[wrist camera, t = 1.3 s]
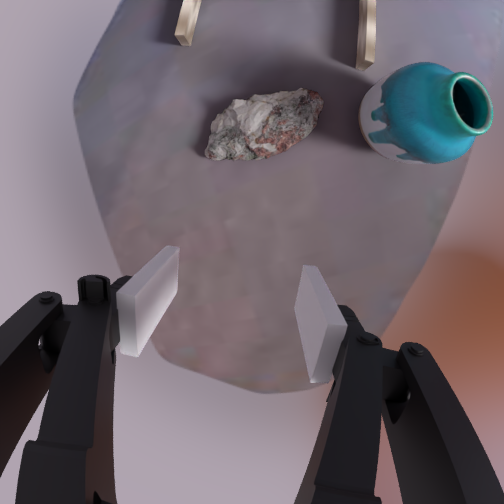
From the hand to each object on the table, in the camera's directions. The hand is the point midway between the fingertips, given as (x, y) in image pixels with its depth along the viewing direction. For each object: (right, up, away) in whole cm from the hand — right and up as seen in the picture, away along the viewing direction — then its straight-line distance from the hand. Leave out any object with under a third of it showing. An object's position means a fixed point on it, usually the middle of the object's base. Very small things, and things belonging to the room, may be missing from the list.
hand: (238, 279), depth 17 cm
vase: (+18, +19, +18) cm, 32 cm away
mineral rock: (+2, +17, +19) cm, 26 cm away
